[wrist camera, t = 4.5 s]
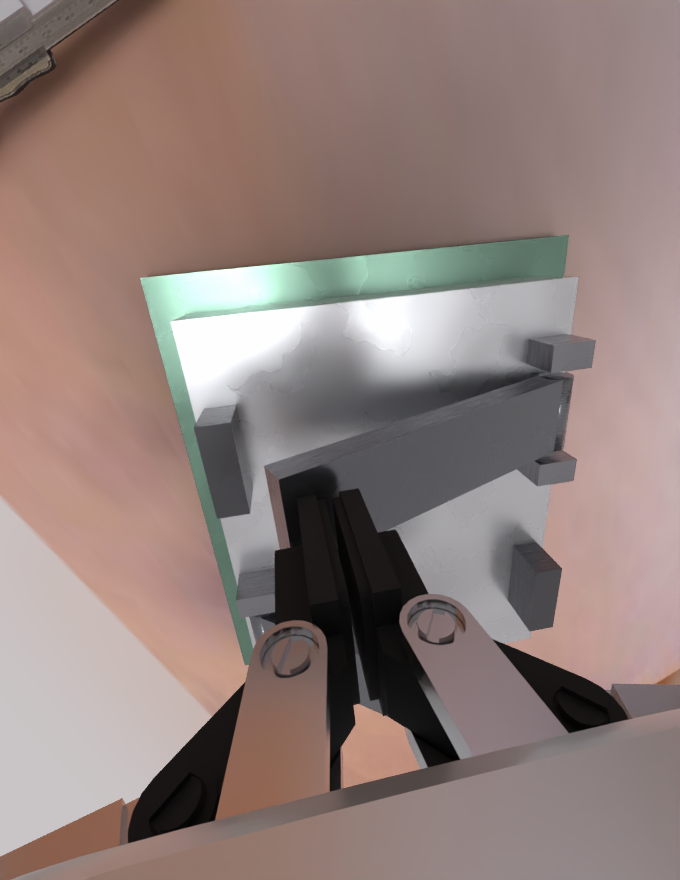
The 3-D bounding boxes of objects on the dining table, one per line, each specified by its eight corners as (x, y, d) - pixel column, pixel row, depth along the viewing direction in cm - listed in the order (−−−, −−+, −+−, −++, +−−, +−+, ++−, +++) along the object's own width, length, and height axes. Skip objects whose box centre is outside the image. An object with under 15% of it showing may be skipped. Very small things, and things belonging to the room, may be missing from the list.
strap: (551, 370, 16) (580, 375, 15) (543, 437, 18) (569, 446, 17) (262, 464, 11) (280, 481, 10) (279, 553, 12) (296, 575, 11)
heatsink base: (554, 236, 18) (672, 222, 13) (515, 600, 27) (575, 683, 22) (147, 277, 17) (83, 280, 11) (246, 651, 25) (237, 755, 20)
